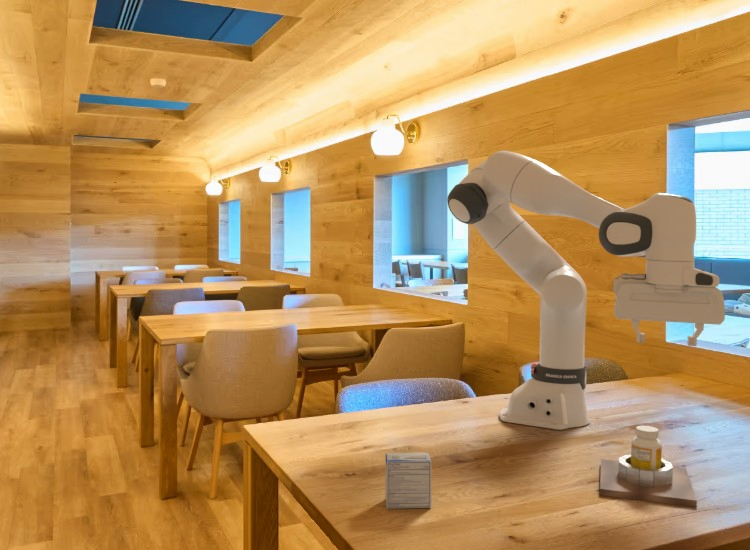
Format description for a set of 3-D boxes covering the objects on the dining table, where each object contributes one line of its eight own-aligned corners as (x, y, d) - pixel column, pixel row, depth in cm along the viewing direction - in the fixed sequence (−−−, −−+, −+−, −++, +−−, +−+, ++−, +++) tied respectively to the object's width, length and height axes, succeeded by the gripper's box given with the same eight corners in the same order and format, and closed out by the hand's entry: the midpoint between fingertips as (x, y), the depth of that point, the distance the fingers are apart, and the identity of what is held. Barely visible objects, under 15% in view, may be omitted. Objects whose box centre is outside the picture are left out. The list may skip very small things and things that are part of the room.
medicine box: (428, 499, 119) (429, 451, 119) (431, 509, 115) (432, 460, 114) (385, 499, 119) (385, 452, 118) (386, 509, 114) (386, 460, 114)
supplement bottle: (639, 483, 123) (640, 433, 123) (625, 473, 128) (626, 424, 128) (666, 482, 124) (668, 432, 123) (651, 472, 129) (652, 424, 129)
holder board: (600, 495, 121) (600, 472, 121) (600, 464, 137) (601, 444, 137) (696, 507, 116) (697, 483, 115) (685, 474, 132) (686, 453, 131)
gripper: (613, 273, 132) (611, 342, 133) (728, 278, 125) (724, 350, 126) (613, 272, 138) (610, 337, 139) (723, 276, 131) (719, 345, 132)
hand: (665, 343), depth 132 cm, fingers open, 8 cm apart
